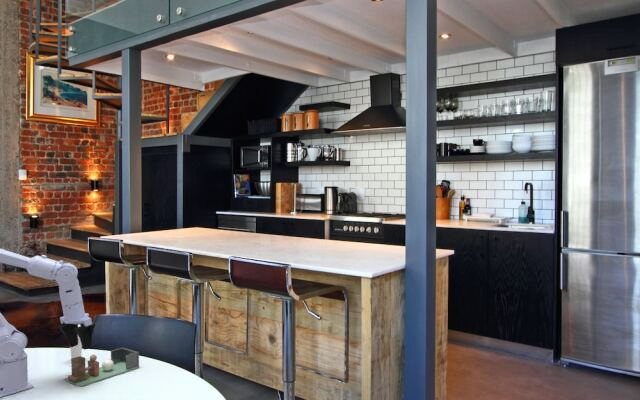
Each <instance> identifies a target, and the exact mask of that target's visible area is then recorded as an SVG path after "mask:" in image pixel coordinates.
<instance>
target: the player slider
mask: <svg viewBox="0 0 640 400" xmlns="http://www.w3.org/2000/svg"><path fill="white" fill-rule="evenodd" d="M97 358H98V357H97V355H96V354H92V355H90V356H89V360H87V367H86V357H84V356H82V355H81V356H79V357H76V358H72V359H71V358H70V360H71V363H70V365H71V374H69V375H67V377H68V380H70V381H73V382H78V381H81V380H84V379H88V378H89V374H90V375H93V376H97V375H99V368H100V361H98V360H97ZM86 371H88V373H86Z"/></svg>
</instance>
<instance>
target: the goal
mask: <svg viewBox="0 0 640 400" xmlns="http://www.w3.org/2000/svg"><path fill="white" fill-rule="evenodd" d="M110 360H112V361H113V363H114V364H117V363H120V362H124V363H126V370H129V369H132V368H135V367H138V369H140V353H139V351H136V350H132V349H129V348H125V347H120V348H115V349H113V350H110Z"/></svg>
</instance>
